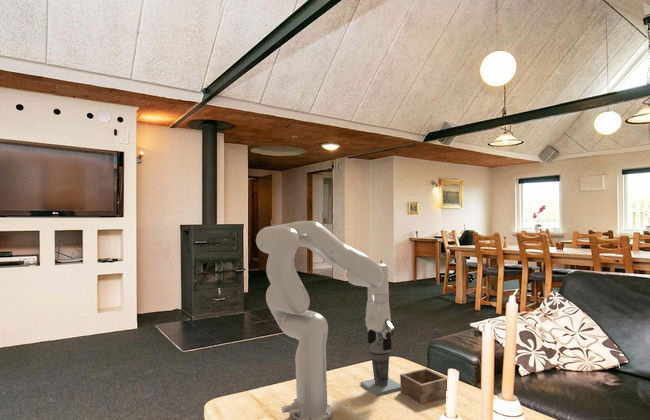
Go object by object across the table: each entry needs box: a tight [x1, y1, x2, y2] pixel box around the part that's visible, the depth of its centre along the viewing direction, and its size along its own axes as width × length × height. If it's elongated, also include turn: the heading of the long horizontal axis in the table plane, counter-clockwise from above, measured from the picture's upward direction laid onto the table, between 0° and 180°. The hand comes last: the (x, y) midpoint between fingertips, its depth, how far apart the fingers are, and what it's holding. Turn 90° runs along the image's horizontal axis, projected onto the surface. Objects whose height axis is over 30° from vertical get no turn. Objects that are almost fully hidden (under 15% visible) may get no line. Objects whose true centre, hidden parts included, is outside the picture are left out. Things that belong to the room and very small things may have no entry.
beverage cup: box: [369, 332, 391, 387], centre depth 146 cm, size 7×7×20 cm
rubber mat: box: [360, 377, 401, 397], centre depth 146 cm, size 11×11×1 cm
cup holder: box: [399, 367, 448, 405], centre depth 138 cm, size 11×11×6 cm
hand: (379, 346), depth 146 cm, fingers open, 9 cm apart
